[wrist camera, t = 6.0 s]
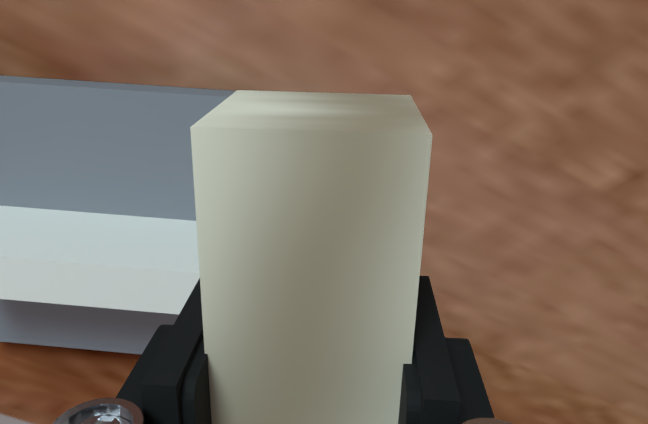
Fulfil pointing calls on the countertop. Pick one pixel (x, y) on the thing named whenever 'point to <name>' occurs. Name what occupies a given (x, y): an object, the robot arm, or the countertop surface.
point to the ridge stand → (96, 210)
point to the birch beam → (309, 253)
